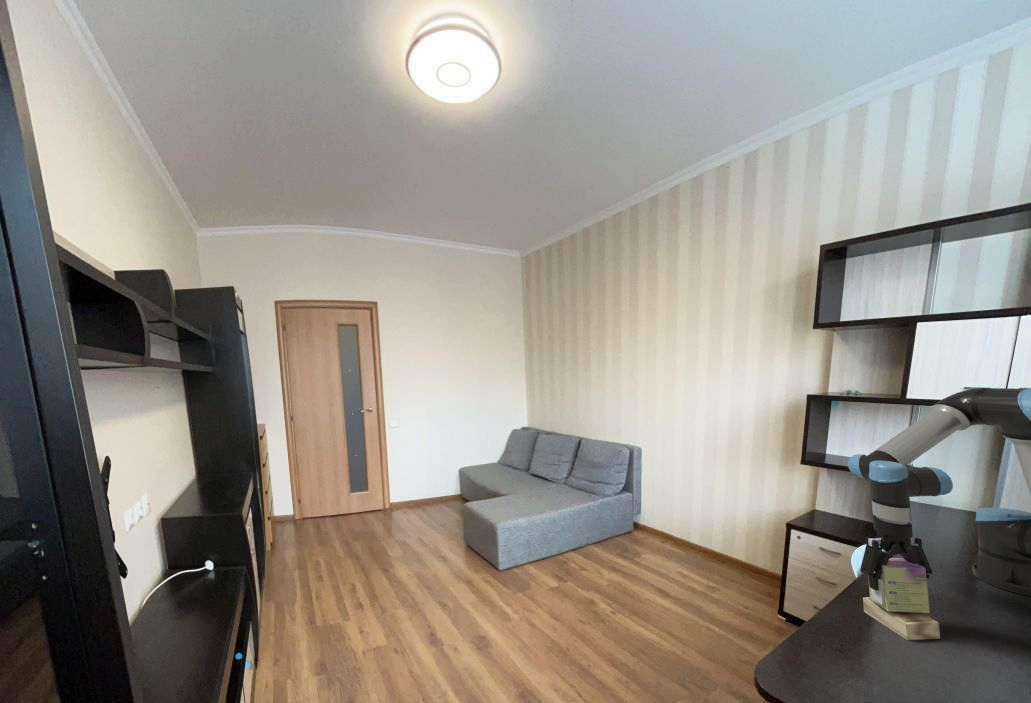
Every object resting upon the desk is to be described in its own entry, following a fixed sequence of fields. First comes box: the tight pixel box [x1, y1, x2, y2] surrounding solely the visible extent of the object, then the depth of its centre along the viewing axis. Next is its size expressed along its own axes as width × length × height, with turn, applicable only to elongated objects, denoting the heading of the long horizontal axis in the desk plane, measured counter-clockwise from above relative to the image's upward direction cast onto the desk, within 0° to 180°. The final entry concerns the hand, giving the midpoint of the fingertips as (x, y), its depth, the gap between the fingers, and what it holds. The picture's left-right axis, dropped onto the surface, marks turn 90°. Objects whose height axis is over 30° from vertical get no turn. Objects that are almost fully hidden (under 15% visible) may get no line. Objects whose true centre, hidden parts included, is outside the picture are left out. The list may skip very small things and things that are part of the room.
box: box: [867, 557, 931, 614], centre depth 98 cm, size 10×6×12 cm, turn 84°
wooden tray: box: [862, 596, 941, 641], centre depth 98 cm, size 9×11×4 cm
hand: (898, 600), depth 98 cm, fingers closed on box, 11 cm apart
